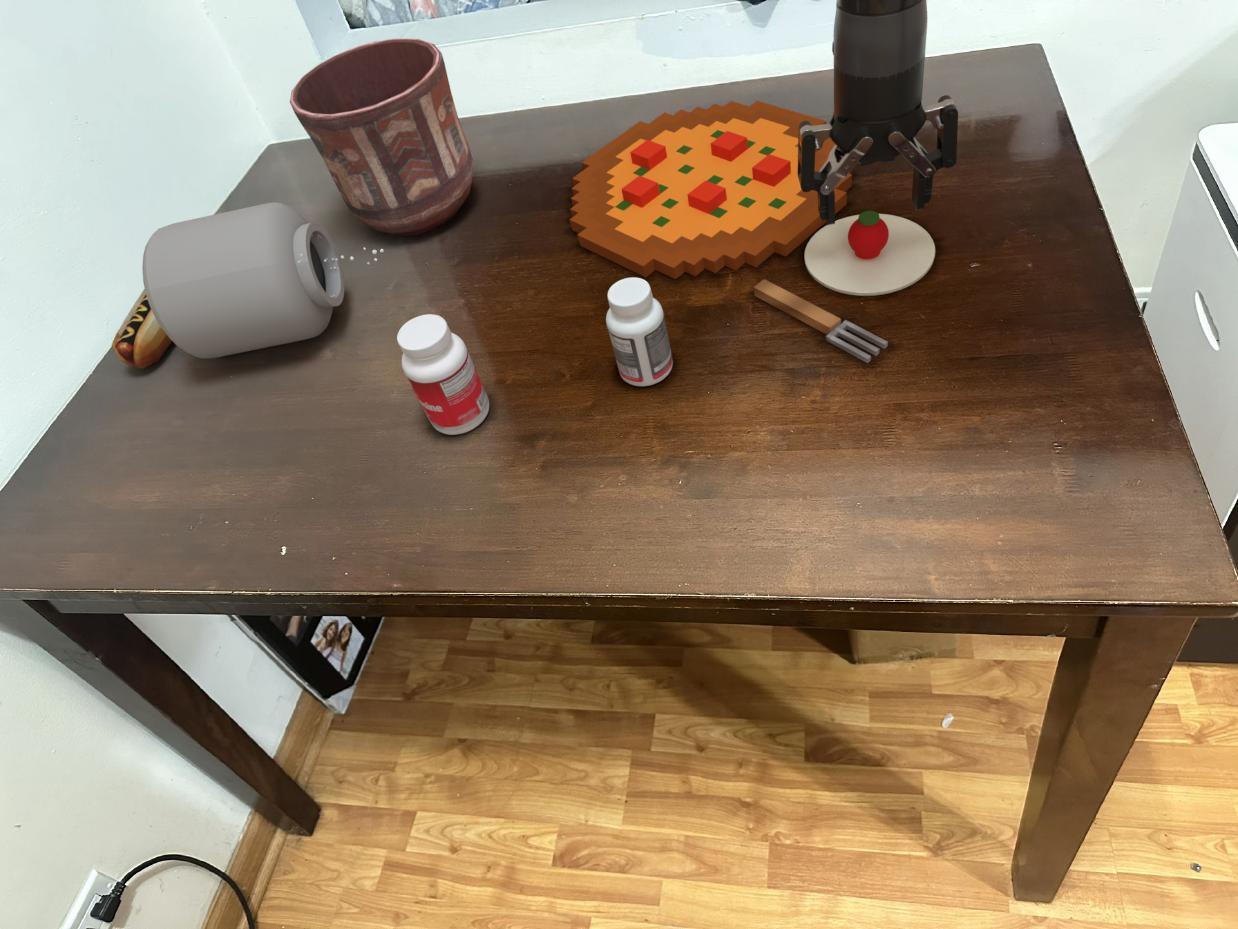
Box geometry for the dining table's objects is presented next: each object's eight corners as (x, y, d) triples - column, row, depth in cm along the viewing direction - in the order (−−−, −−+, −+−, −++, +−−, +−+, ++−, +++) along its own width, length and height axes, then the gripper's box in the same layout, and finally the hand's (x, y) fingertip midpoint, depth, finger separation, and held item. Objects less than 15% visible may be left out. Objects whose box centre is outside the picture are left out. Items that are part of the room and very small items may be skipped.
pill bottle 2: (665, 343, 87) (650, 265, 79) (679, 378, 83) (665, 300, 76) (614, 358, 87) (594, 282, 79) (625, 394, 83) (606, 318, 76)
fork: (749, 299, 89) (748, 290, 88) (769, 284, 89) (768, 275, 89) (867, 363, 80) (868, 354, 79) (887, 346, 81) (888, 336, 80)
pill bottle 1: (421, 413, 87) (377, 332, 78) (472, 382, 88) (435, 298, 80) (449, 447, 83) (406, 365, 75) (502, 413, 85) (466, 329, 76)
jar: (228, 238, 106) (405, 189, 99) (257, 357, 108) (433, 318, 101) (99, 225, 88) (303, 165, 81) (137, 368, 90) (340, 322, 83)
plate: (859, 202, 95) (859, 199, 95) (962, 245, 88) (962, 241, 88) (778, 263, 91) (778, 260, 91) (878, 313, 84) (878, 310, 83)
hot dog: (207, 299, 107) (184, 267, 104) (165, 375, 99) (138, 343, 95) (171, 303, 108) (147, 271, 104) (126, 379, 100) (99, 347, 96)
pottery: (420, 267, 103) (359, 128, 89) (328, 233, 112) (259, 101, 98) (514, 185, 111) (471, 46, 97) (421, 159, 119) (369, 28, 106)
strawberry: (864, 235, 91) (865, 199, 88) (895, 248, 89) (898, 213, 85) (839, 254, 90) (839, 219, 87) (870, 269, 87) (872, 233, 84)
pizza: (719, 313, 88) (716, 290, 86) (522, 217, 106) (515, 195, 103) (902, 156, 99) (904, 131, 97) (696, 92, 117) (693, 71, 115)
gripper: (800, 88, 72) (806, 247, 84) (978, 54, 70) (957, 222, 82) (788, 47, 77) (795, 203, 89) (954, 14, 75) (938, 179, 87)
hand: (873, 212), depth 86 cm, fingers open, 8 cm apart
